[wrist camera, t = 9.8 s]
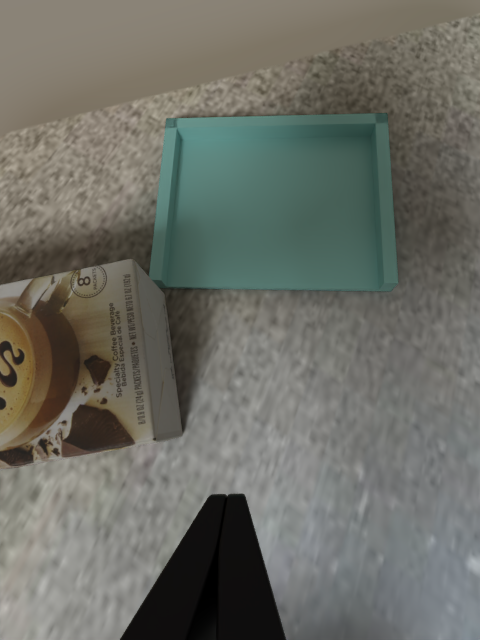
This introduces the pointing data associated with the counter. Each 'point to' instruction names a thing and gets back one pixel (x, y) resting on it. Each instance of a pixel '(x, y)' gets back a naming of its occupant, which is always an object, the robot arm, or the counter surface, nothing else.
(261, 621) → the robot arm
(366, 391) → the counter surface
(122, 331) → the coffee box
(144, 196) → the counter surface
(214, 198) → the tray
